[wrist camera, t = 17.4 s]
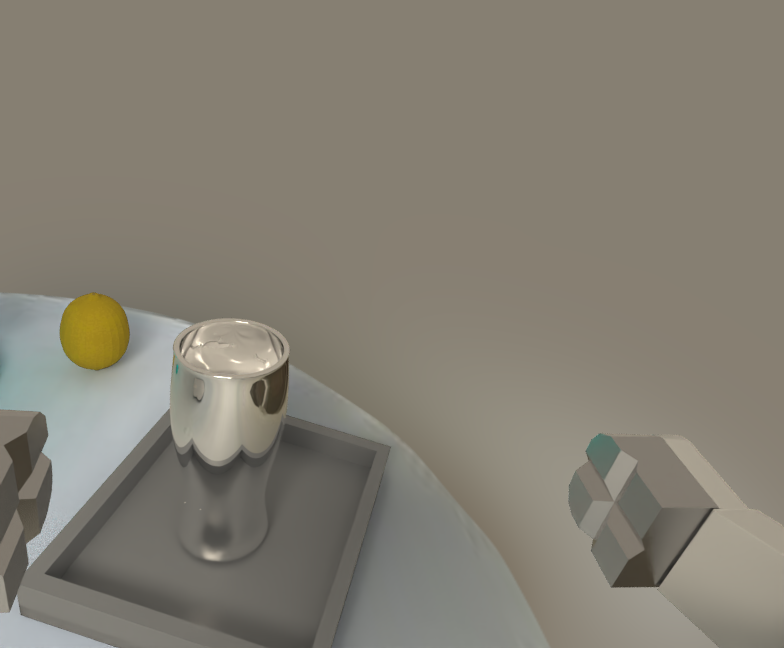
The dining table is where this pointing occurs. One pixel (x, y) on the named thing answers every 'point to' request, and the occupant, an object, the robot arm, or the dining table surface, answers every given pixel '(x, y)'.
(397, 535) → the dining table surface
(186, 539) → the beer glass
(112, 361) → the lemon
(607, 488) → the robot arm
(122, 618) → the tray
